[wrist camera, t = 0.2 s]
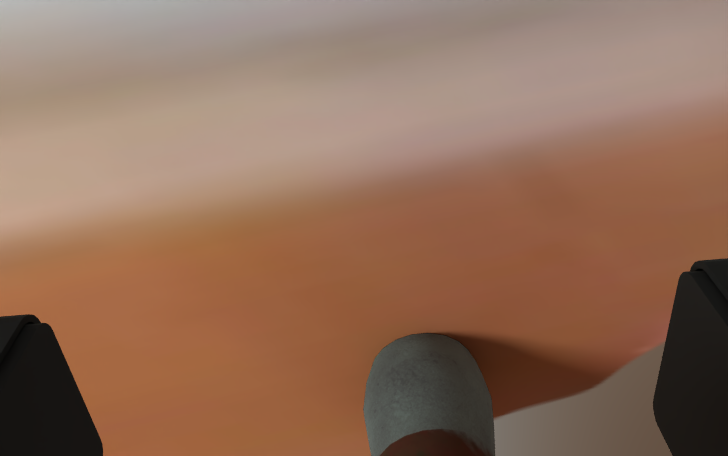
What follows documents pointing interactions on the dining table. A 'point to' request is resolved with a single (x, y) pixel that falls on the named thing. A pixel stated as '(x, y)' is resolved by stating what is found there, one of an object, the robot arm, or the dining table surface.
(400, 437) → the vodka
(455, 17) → the dining table surface
